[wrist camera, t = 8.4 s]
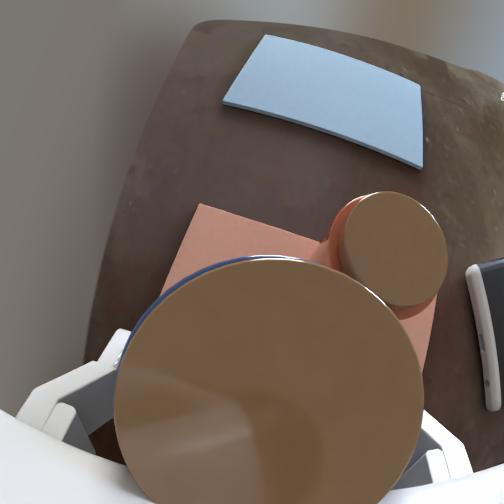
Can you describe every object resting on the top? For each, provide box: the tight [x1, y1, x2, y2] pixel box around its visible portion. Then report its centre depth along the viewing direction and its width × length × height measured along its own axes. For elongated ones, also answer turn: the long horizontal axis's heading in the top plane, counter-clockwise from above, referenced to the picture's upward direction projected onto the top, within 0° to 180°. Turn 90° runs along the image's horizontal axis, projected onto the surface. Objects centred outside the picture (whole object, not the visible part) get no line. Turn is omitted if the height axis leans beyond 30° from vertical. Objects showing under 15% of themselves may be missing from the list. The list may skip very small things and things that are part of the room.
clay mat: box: [160, 204, 437, 372], centre depth 21 cm, size 20×14×1 cm
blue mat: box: [222, 35, 423, 170], centre depth 29 cm, size 20×14×1 cm
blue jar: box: [114, 255, 424, 504], centre depth 9 cm, size 6×6×10 cm
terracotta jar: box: [308, 191, 448, 321], centre depth 17 cm, size 6×6×10 cm
